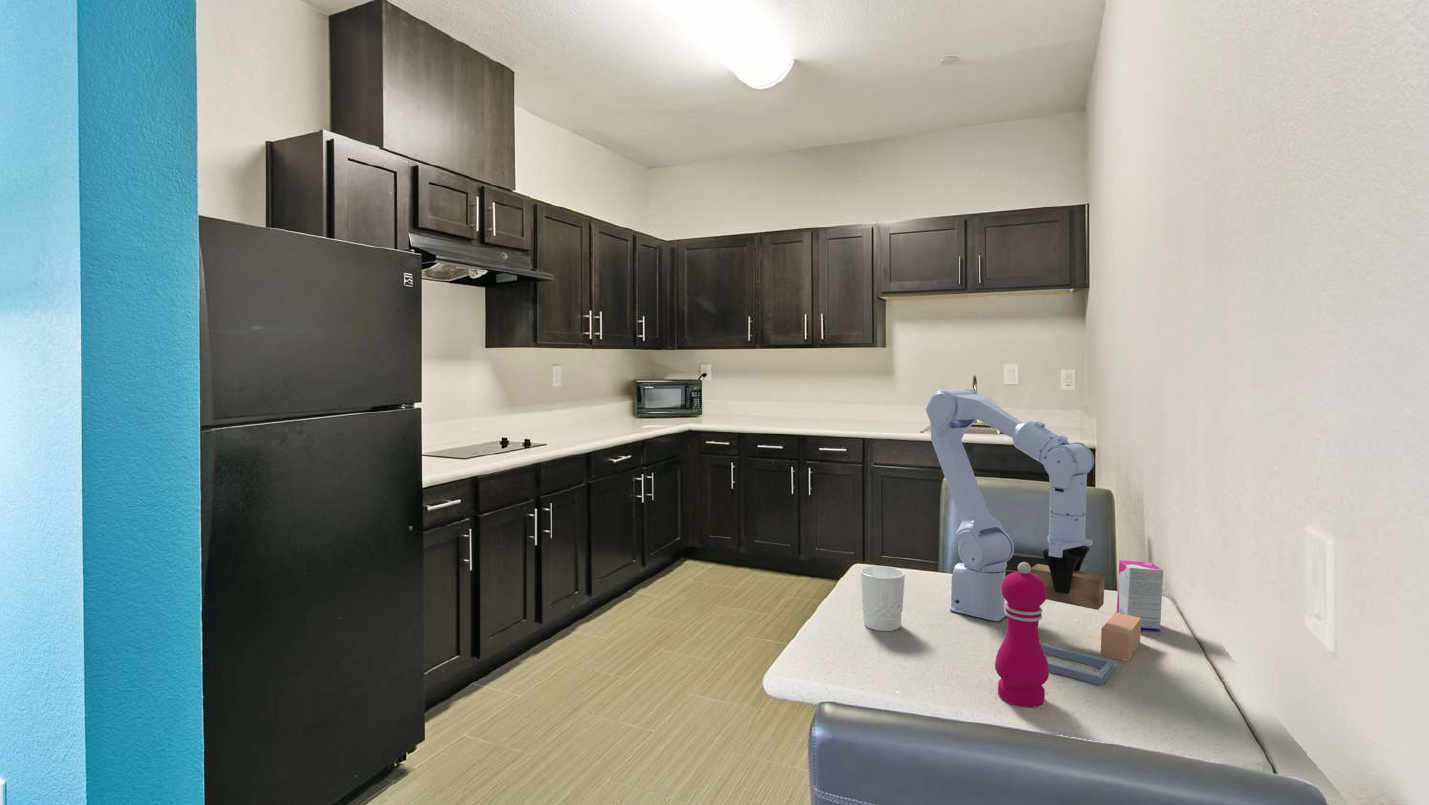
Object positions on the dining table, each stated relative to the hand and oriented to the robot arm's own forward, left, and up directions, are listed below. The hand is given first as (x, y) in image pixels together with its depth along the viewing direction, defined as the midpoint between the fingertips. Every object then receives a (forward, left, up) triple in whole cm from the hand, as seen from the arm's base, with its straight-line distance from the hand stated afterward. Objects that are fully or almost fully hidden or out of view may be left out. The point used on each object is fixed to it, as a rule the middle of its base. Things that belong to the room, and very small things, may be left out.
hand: (1065, 589), depth 126 cm
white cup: (-28, -15, -9) cm, 33 cm away
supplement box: (+8, +16, -9) cm, 21 cm away
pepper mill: (+1, -28, -9) cm, 29 cm away
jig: (+2, -12, -9) cm, 15 cm away
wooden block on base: (0, 0, -2) cm, 2 cm away
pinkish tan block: (+8, +2, -9) cm, 13 cm away
